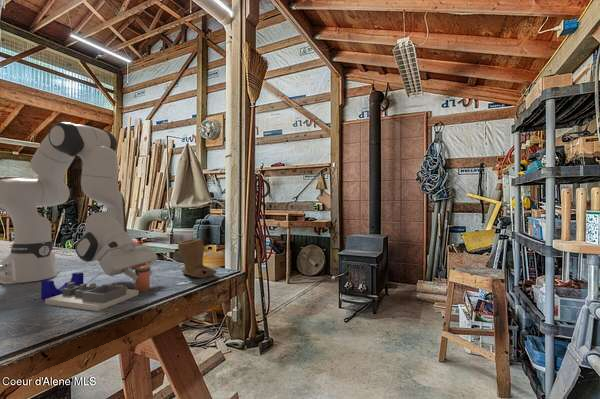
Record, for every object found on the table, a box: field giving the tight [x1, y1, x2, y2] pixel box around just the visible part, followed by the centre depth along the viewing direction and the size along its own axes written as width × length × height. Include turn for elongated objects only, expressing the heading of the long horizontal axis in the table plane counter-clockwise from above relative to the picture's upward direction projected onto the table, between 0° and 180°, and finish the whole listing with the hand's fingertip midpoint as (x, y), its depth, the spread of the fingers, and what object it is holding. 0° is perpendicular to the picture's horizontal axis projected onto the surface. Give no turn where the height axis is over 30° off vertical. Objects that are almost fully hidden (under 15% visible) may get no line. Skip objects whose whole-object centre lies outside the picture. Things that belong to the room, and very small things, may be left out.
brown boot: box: [177, 238, 217, 279], centre depth 127 cm, size 15×12×15 cm
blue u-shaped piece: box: [40, 271, 85, 301], centre depth 102 cm, size 12×4×6 cm, turn 169°
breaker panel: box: [44, 282, 139, 312], centre depth 97 cm, size 20×15×5 cm
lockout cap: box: [134, 265, 151, 292], centre depth 107 cm, size 5×5×8 cm
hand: (144, 277), depth 107 cm, fingers closed on lockout cap, 4 cm apart
